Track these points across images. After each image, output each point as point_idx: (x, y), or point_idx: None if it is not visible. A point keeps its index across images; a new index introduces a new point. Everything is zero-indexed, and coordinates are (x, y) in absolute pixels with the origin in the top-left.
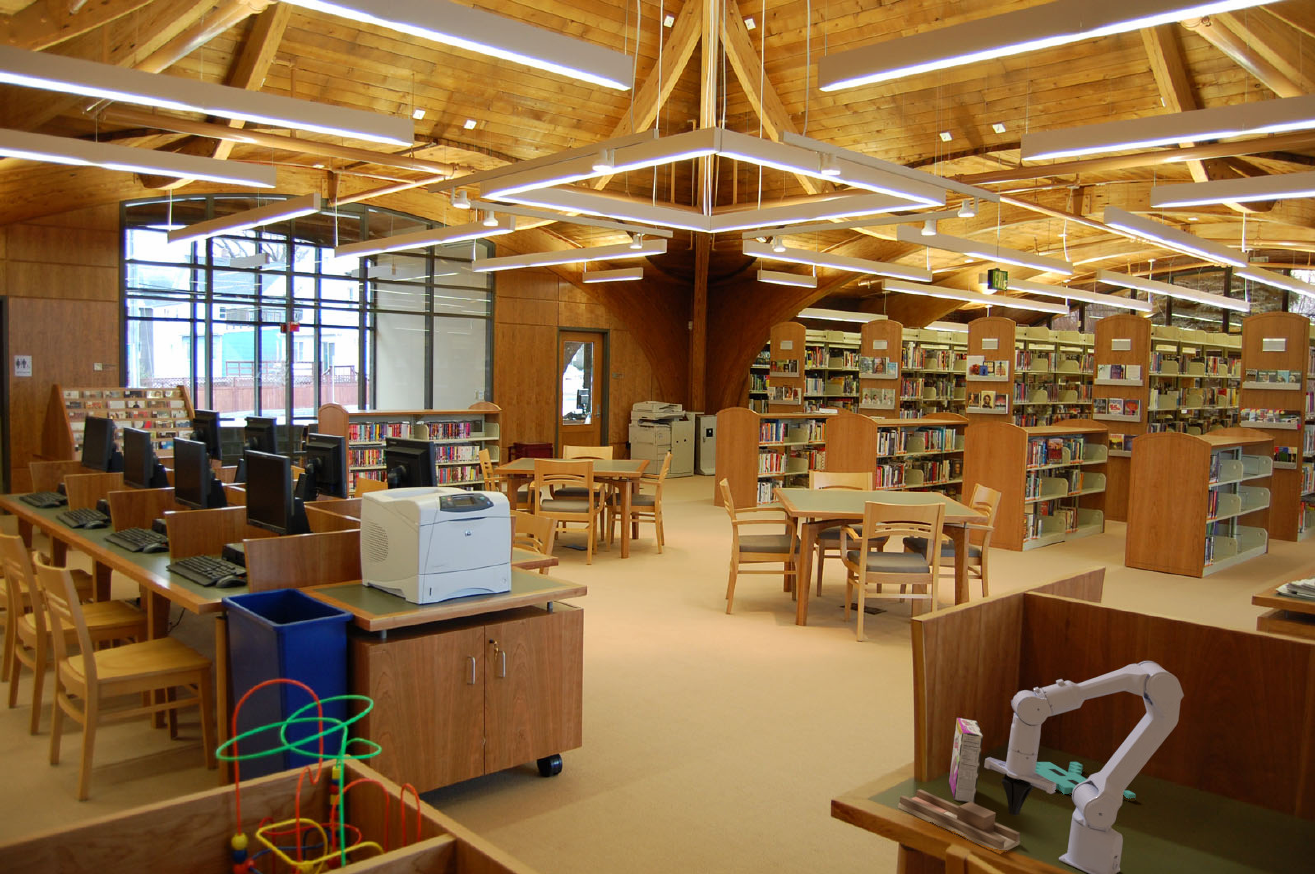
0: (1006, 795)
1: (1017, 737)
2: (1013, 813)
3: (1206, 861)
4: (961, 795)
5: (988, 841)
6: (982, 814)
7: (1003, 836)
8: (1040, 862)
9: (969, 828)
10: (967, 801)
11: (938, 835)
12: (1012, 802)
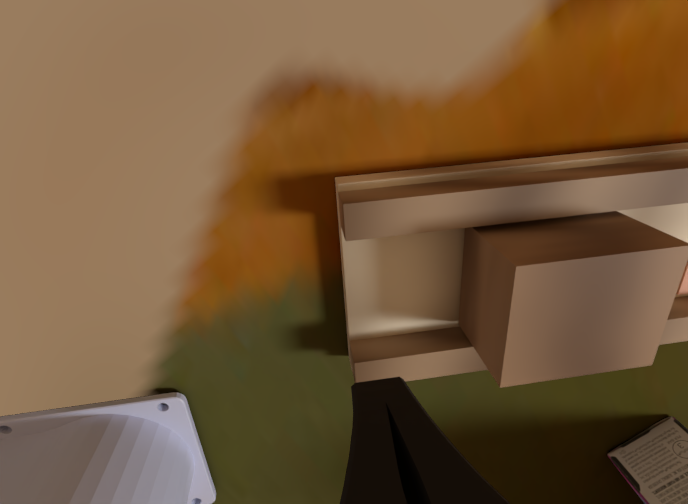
0: (491, 486)
1: None
2: (364, 388)
3: None
4: (667, 445)
5: (411, 188)
6: (542, 294)
7: (407, 327)
8: (198, 303)
9: (537, 182)
10: (630, 442)
11: (628, 40)
12: (407, 460)
